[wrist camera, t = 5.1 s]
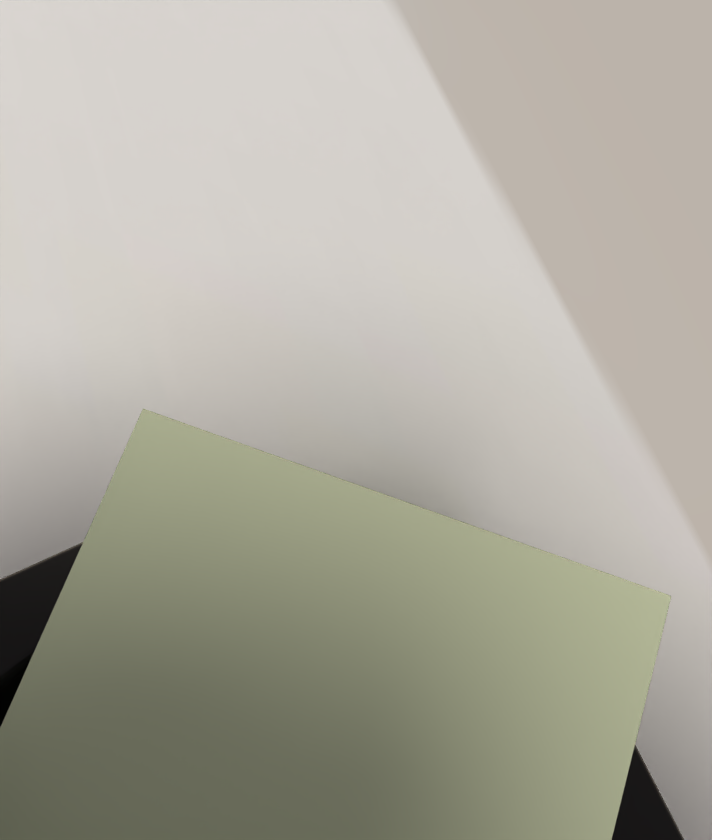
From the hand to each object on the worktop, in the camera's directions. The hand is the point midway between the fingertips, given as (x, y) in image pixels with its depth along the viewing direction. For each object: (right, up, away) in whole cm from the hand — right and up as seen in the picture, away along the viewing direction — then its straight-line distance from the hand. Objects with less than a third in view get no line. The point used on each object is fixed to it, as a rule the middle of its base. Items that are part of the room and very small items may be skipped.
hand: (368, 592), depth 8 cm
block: (0, -3, +6) cm, 7 cm away
